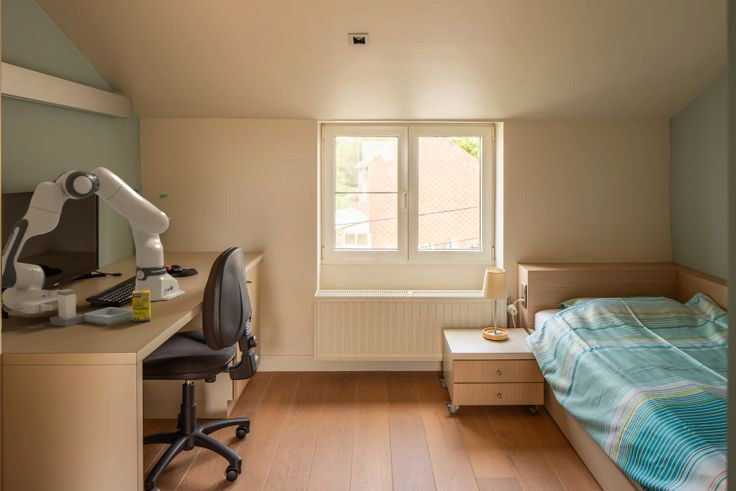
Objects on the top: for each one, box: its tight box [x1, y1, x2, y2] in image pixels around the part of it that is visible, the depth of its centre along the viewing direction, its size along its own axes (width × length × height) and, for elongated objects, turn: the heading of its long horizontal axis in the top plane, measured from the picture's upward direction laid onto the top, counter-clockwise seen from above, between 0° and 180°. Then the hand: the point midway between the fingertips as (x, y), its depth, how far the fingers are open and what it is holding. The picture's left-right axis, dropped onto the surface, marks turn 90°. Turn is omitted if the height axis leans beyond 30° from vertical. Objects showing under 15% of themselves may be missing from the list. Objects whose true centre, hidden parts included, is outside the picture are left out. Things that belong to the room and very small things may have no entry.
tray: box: [83, 306, 133, 326], centre depth 232 cm, size 12×12×3 cm
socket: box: [49, 313, 86, 328], centre depth 229 cm, size 12×8×2 cm
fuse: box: [57, 288, 77, 319], centre depth 227 cm, size 4×4×12 cm
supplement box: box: [131, 289, 152, 323], centre depth 232 cm, size 6×6×11 cm
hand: (64, 305), depth 228 cm, fingers open, 8 cm apart
